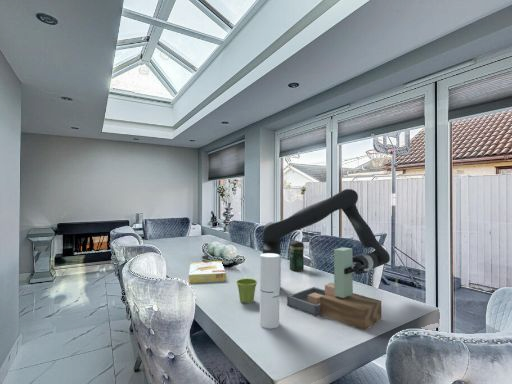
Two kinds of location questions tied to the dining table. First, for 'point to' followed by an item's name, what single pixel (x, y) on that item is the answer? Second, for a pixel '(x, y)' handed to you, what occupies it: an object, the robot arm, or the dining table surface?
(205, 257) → the cake pan
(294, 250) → the coffee jar
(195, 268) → the cereal box
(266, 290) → the cylindrical container
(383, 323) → the dining table surface
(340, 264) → the tall sage green panel
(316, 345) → the dining table surface
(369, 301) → the bench
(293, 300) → the tray
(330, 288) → the tile
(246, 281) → the plant pot
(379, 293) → the dining table surface
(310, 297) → the tile
